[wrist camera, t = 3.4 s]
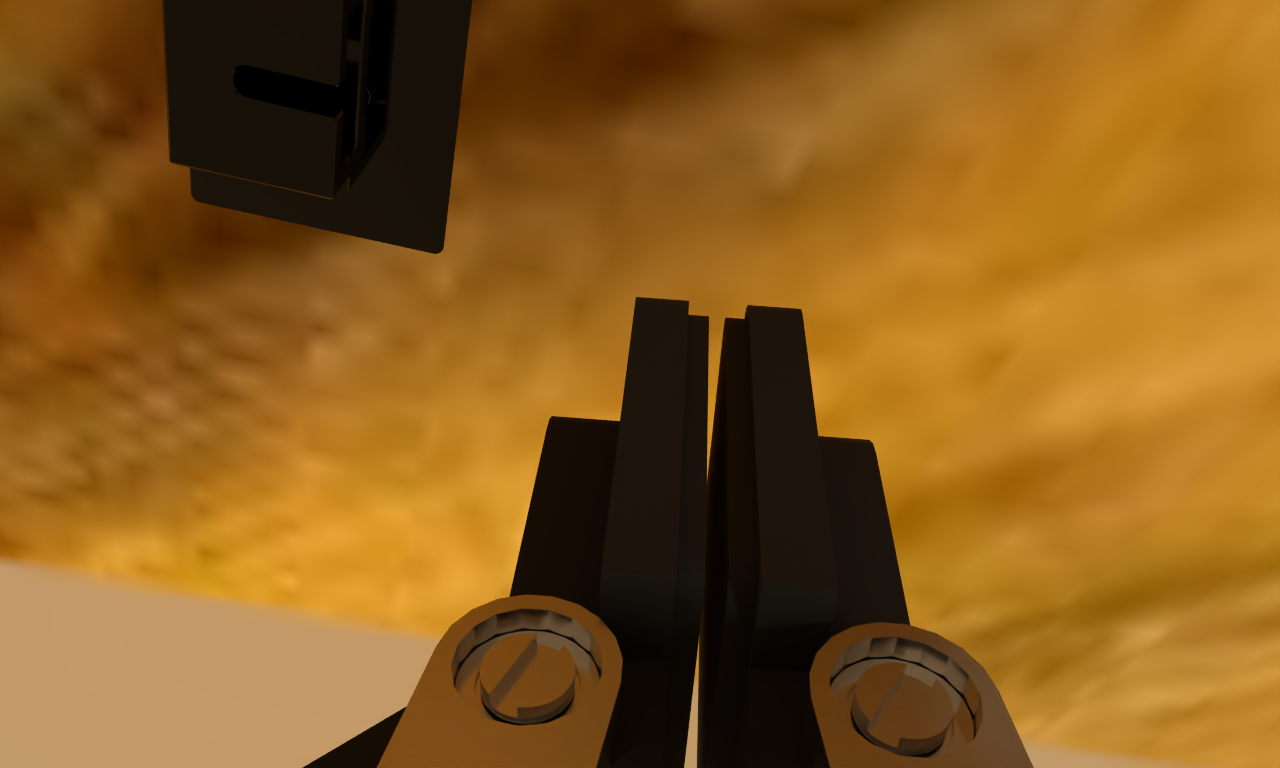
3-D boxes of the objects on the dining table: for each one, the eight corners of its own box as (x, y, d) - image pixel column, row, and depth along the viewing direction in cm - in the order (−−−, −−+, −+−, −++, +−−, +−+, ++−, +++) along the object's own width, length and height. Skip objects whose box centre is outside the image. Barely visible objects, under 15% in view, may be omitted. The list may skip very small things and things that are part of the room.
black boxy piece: (473, 301, 25) (425, 421, 22) (162, 232, 25) (58, 342, 21) (559, -311, 18) (511, -292, 14) (125, -423, 18) (-43, -433, 14)
